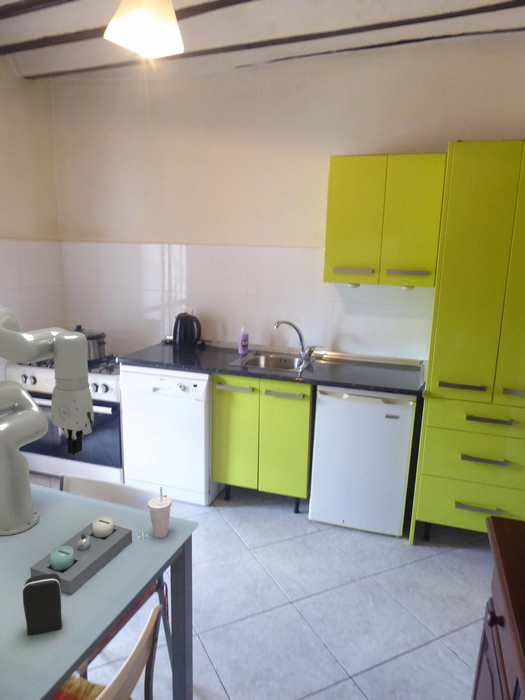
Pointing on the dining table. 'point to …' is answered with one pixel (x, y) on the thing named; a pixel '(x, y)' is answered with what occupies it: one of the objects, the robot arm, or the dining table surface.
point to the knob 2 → (102, 527)
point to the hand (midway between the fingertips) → (75, 451)
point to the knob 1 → (62, 558)
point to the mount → (86, 557)
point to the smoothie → (160, 514)
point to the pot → (83, 542)
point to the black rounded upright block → (43, 603)
